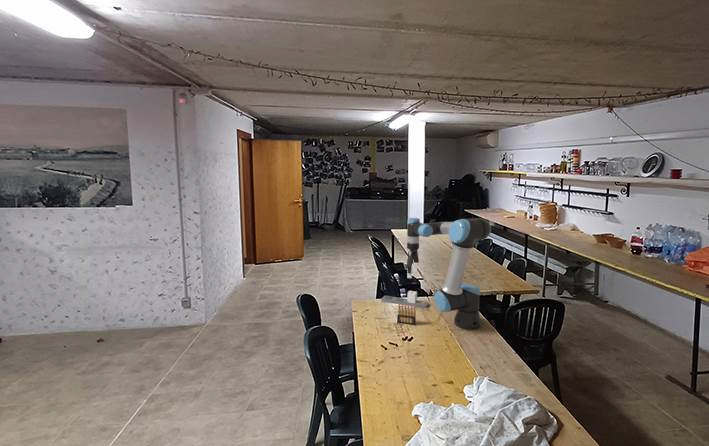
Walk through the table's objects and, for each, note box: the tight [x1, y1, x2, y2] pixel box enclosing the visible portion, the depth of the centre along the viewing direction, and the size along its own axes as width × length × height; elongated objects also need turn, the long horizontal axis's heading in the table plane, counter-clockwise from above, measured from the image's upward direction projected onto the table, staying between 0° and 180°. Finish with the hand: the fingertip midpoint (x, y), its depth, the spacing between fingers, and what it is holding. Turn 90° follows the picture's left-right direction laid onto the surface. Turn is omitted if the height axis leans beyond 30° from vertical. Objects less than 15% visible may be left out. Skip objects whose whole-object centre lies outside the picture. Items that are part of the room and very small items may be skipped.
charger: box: [406, 290, 418, 304], centre depth 253 cm, size 5×4×8 cm
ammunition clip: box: [396, 303, 417, 326], centre depth 226 cm, size 11×2×12 cm, turn 71°
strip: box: [380, 295, 430, 309], centre depth 254 cm, size 42×7×4 cm, turn 66°
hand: (412, 275), depth 251 cm, fingers open, 13 cm apart
